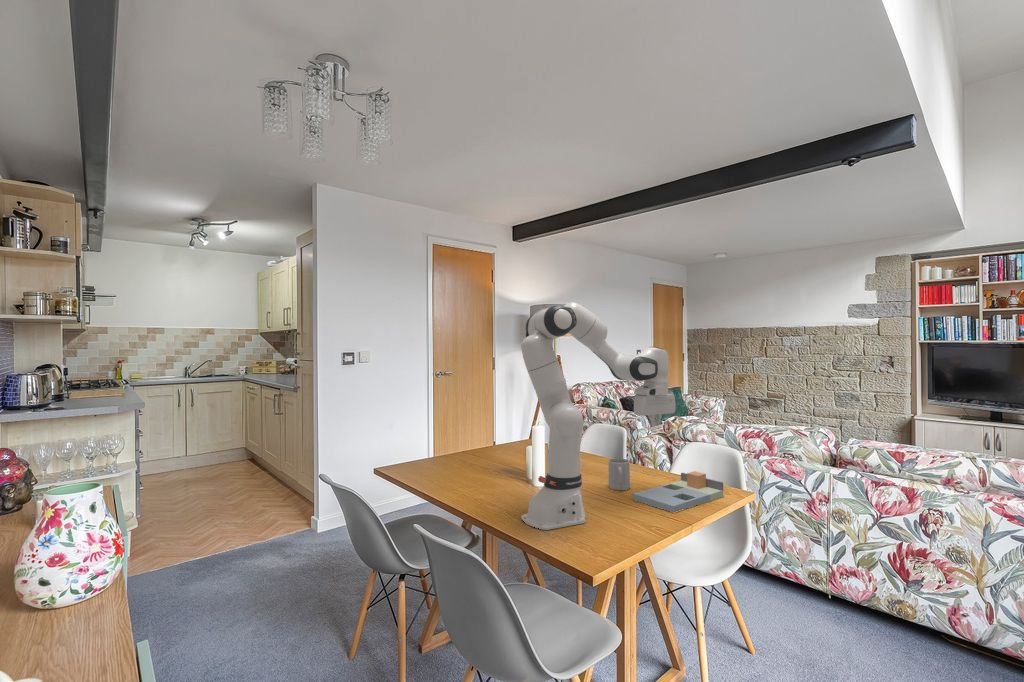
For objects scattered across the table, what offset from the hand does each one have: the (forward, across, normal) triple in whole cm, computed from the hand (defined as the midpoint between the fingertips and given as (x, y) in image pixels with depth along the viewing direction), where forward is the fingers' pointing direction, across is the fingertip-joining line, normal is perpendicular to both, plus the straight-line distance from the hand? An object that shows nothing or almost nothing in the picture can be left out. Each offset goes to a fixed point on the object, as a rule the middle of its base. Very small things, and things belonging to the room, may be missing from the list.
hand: (654, 426), depth 182 cm
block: (+24, -18, +6) cm, 31 cm away
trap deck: (+27, -7, +6) cm, 28 cm away
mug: (+28, +1, -16) cm, 32 cm away
